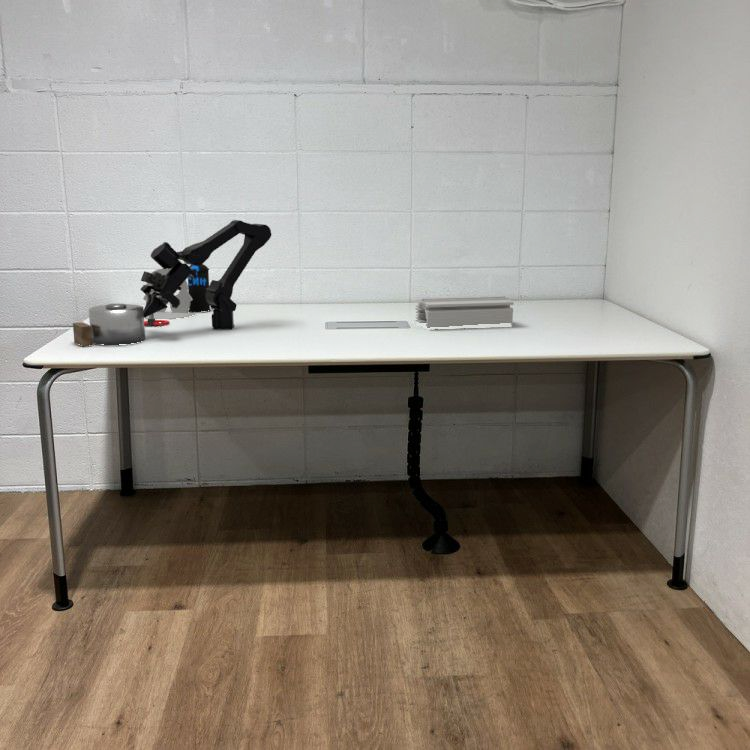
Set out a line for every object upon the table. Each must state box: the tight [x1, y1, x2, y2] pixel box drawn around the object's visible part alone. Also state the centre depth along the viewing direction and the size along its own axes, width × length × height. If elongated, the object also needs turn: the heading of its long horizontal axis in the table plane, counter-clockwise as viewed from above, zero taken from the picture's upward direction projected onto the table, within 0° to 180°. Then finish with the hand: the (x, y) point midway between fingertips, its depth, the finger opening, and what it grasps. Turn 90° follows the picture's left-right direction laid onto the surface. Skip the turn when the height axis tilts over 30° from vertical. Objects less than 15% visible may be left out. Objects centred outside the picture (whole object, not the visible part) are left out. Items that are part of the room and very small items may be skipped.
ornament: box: [142, 268, 197, 320], centre depth 287 cm, size 22×13×17 cm, turn 81°
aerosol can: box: [187, 263, 211, 313], centre depth 299 cm, size 8×8×20 cm
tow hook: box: [144, 313, 170, 327], centre depth 273 cm, size 8×13×9 cm
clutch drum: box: [88, 303, 146, 346], centre depth 245 cm, size 16×16×11 cm
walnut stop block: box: [72, 321, 94, 347], centre depth 240 cm, size 3×8×6 cm, turn 38°
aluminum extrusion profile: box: [414, 296, 515, 328], centre depth 277 cm, size 14×31×10 cm, turn 104°
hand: (143, 316), depth 250 cm, fingers closed, pressing on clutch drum
